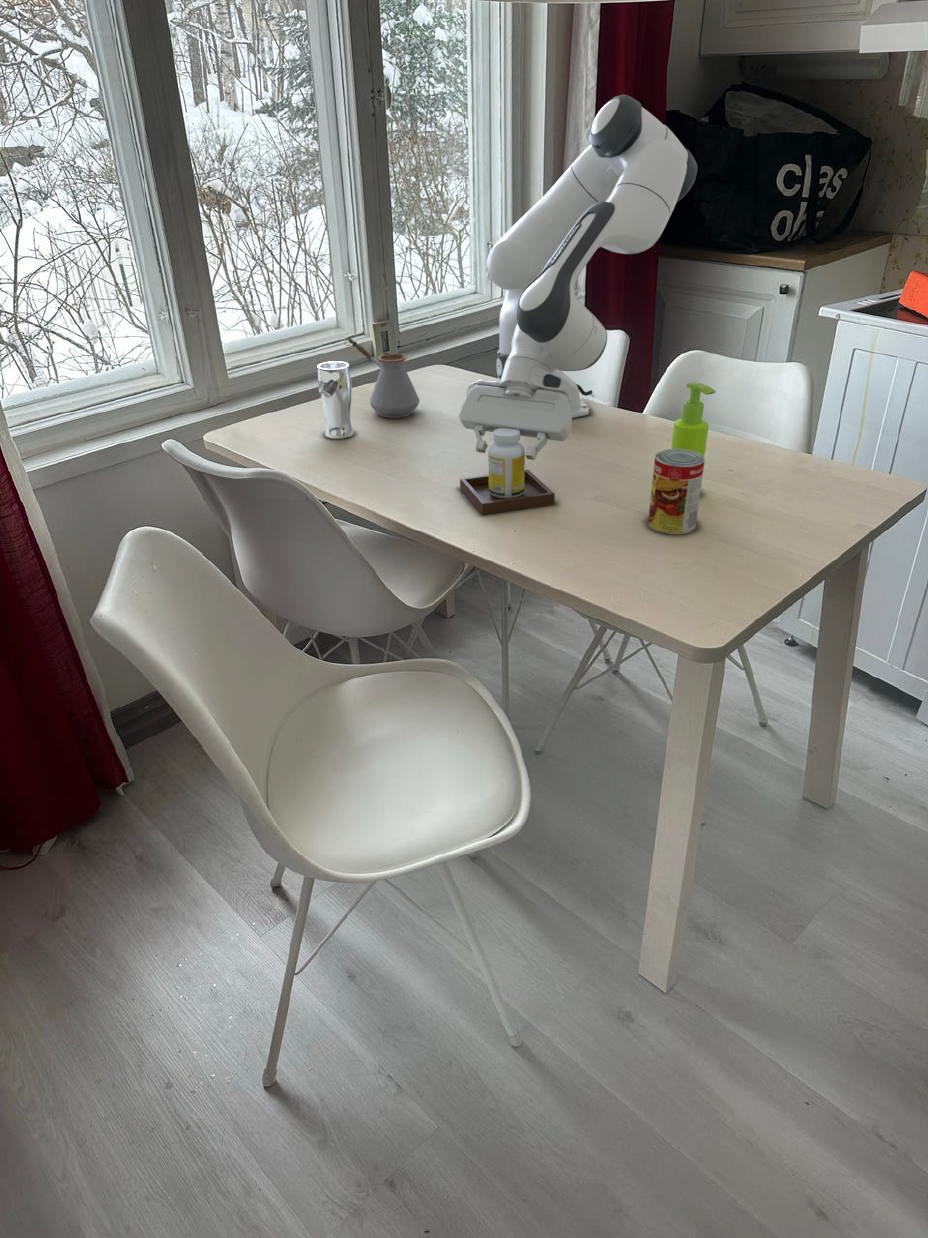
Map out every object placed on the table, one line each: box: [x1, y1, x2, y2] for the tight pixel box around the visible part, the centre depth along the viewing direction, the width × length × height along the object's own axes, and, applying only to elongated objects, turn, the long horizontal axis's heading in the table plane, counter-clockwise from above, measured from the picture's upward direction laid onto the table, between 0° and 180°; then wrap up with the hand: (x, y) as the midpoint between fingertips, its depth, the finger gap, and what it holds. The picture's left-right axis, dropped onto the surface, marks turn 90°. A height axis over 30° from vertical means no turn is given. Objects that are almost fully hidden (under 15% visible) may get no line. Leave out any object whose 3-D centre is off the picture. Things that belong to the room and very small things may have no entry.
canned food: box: [647, 448, 706, 535], centre depth 142 cm, size 8×8×12 cm
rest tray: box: [459, 469, 555, 516], centre depth 156 cm, size 14×13×2 cm
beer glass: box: [316, 361, 354, 440], centre depth 184 cm, size 7×7×15 cm
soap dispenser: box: [670, 381, 717, 457], centre depth 151 cm, size 6×7×20 cm
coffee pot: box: [344, 337, 420, 419], centre depth 199 cm, size 21×12×15 cm, turn 47°
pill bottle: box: [488, 428, 526, 499], centre depth 153 cm, size 6×6×12 cm
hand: (504, 454), depth 152 cm, fingers open, 8 cm apart
